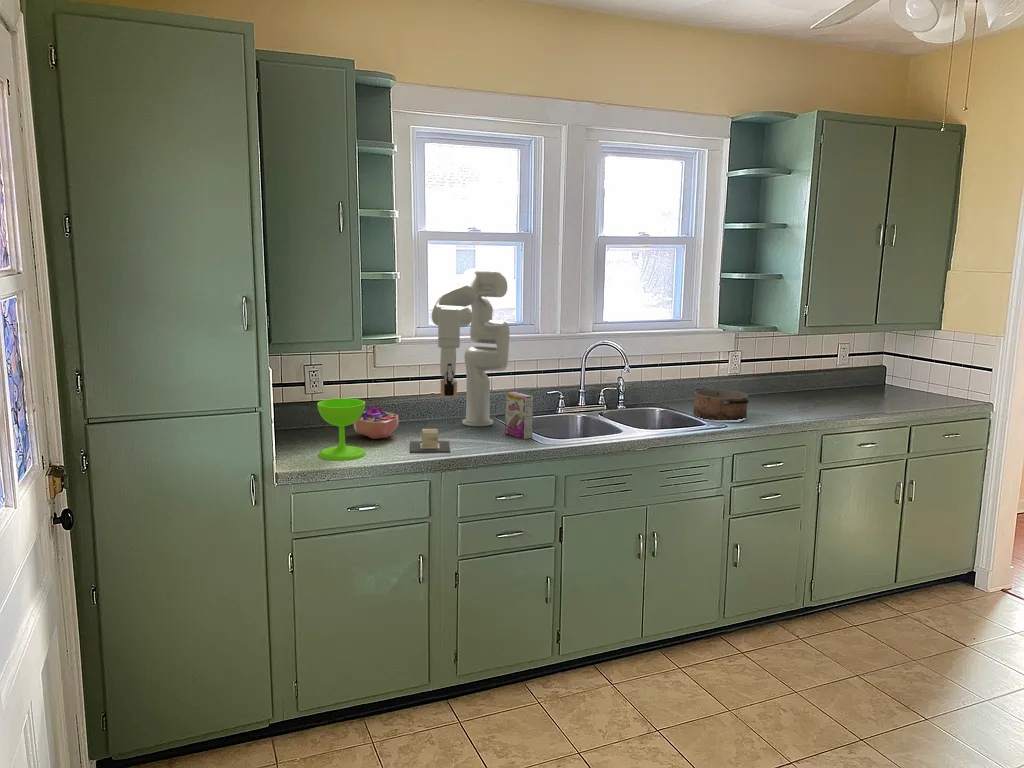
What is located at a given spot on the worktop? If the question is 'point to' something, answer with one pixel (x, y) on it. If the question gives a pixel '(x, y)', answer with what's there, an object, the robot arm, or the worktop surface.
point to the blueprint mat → (417, 448)
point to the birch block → (429, 438)
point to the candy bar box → (519, 415)
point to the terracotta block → (444, 385)
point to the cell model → (376, 423)
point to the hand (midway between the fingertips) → (448, 393)
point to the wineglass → (341, 426)
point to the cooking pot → (720, 404)
